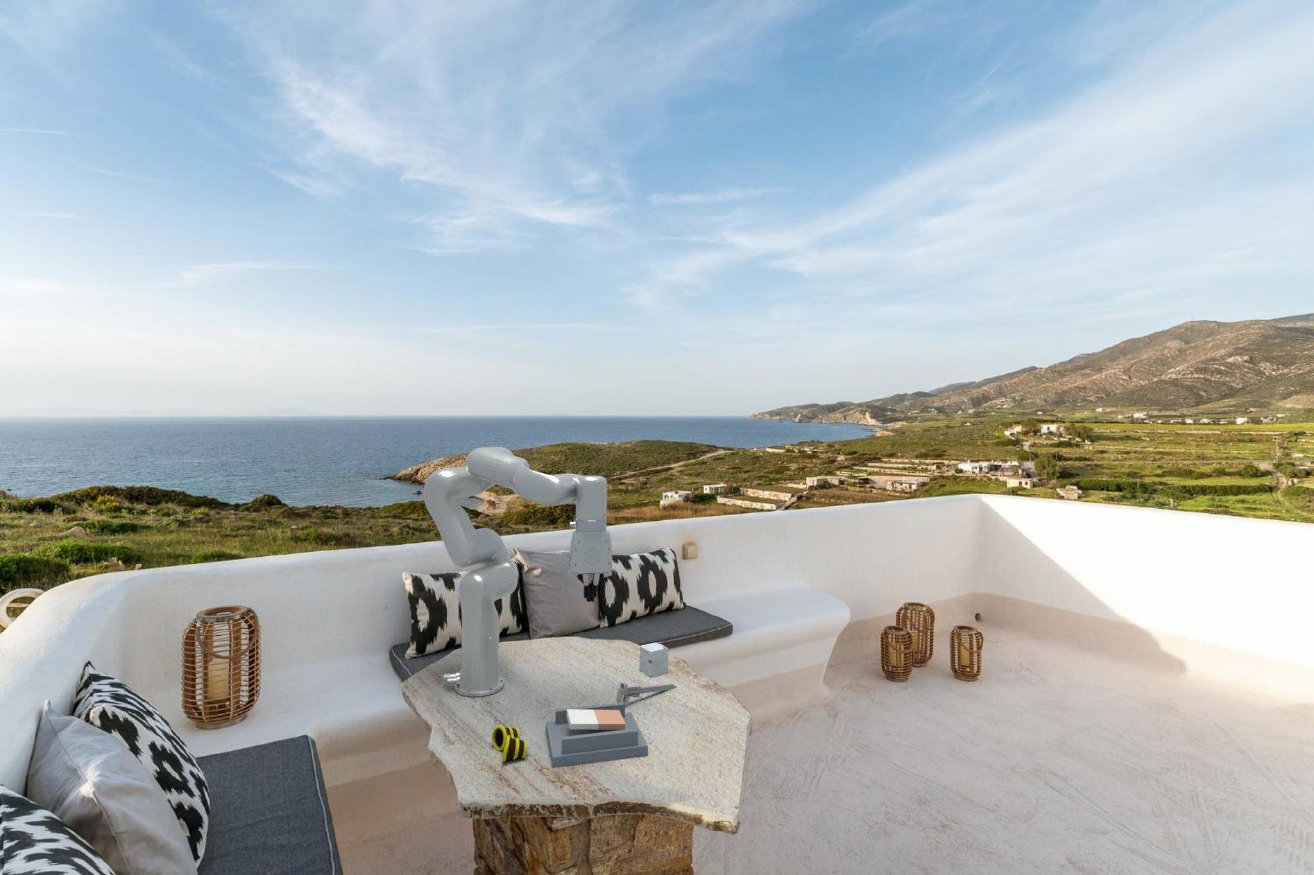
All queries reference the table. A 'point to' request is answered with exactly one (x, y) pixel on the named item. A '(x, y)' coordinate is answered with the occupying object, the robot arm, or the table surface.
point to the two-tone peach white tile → (595, 719)
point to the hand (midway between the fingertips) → (590, 600)
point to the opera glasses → (509, 742)
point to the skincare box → (653, 659)
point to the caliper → (639, 691)
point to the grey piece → (593, 739)
